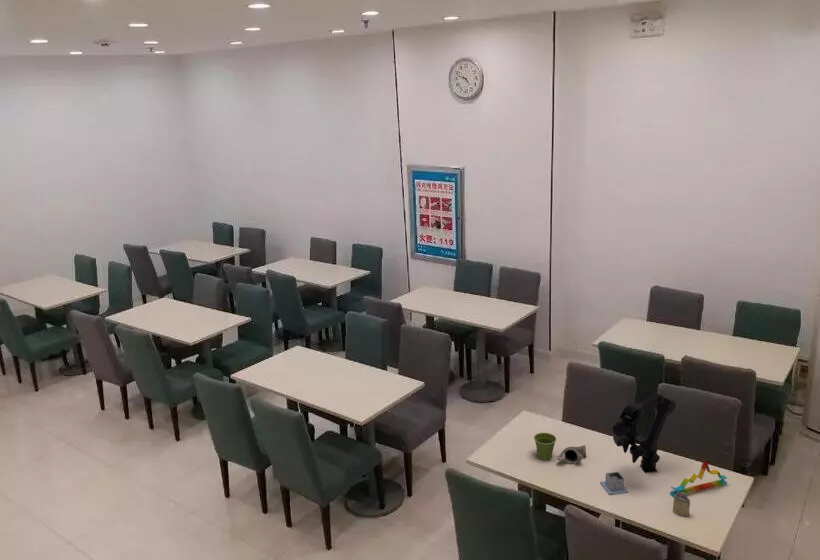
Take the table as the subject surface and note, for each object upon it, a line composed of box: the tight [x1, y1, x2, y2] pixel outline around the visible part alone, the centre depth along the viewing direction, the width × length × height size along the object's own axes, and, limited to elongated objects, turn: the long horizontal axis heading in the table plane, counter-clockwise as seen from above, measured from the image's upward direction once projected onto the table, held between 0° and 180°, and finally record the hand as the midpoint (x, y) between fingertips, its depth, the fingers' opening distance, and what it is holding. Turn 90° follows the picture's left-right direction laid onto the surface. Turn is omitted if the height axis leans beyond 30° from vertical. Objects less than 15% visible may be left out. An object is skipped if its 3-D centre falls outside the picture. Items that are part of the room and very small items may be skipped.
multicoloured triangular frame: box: [669, 460, 728, 498], centre depth 312 cm, size 30×3×15 cm, turn 107°
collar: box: [604, 471, 626, 491], centre depth 317 cm, size 7×7×6 cm
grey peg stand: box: [599, 476, 630, 496], centre depth 317 cm, size 10×10×6 cm
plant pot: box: [533, 432, 558, 461], centre depth 345 cm, size 12×12×11 cm
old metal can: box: [672, 492, 691, 517], centre depth 296 cm, size 7×4×10 cm, turn 53°
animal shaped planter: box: [556, 444, 587, 464], centre depth 342 cm, size 16×9×15 cm
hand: (629, 457), depth 321 cm, fingers open, 9 cm apart
